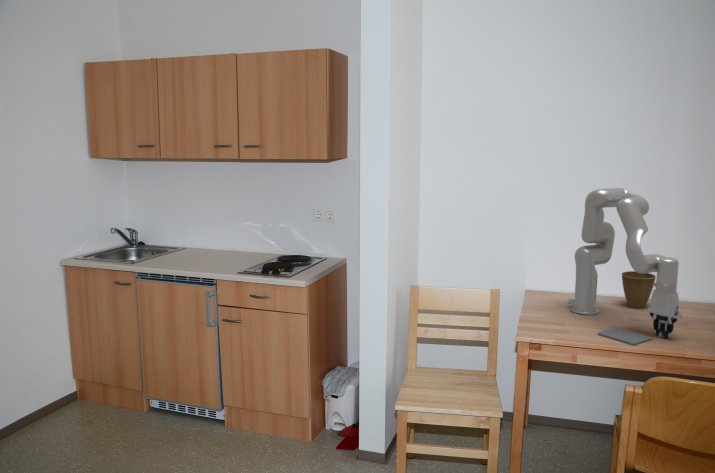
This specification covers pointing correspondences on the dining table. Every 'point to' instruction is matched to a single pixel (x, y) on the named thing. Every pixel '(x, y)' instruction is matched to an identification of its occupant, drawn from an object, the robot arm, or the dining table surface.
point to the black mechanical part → (662, 327)
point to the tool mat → (625, 336)
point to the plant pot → (637, 288)
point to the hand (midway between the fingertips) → (662, 330)
